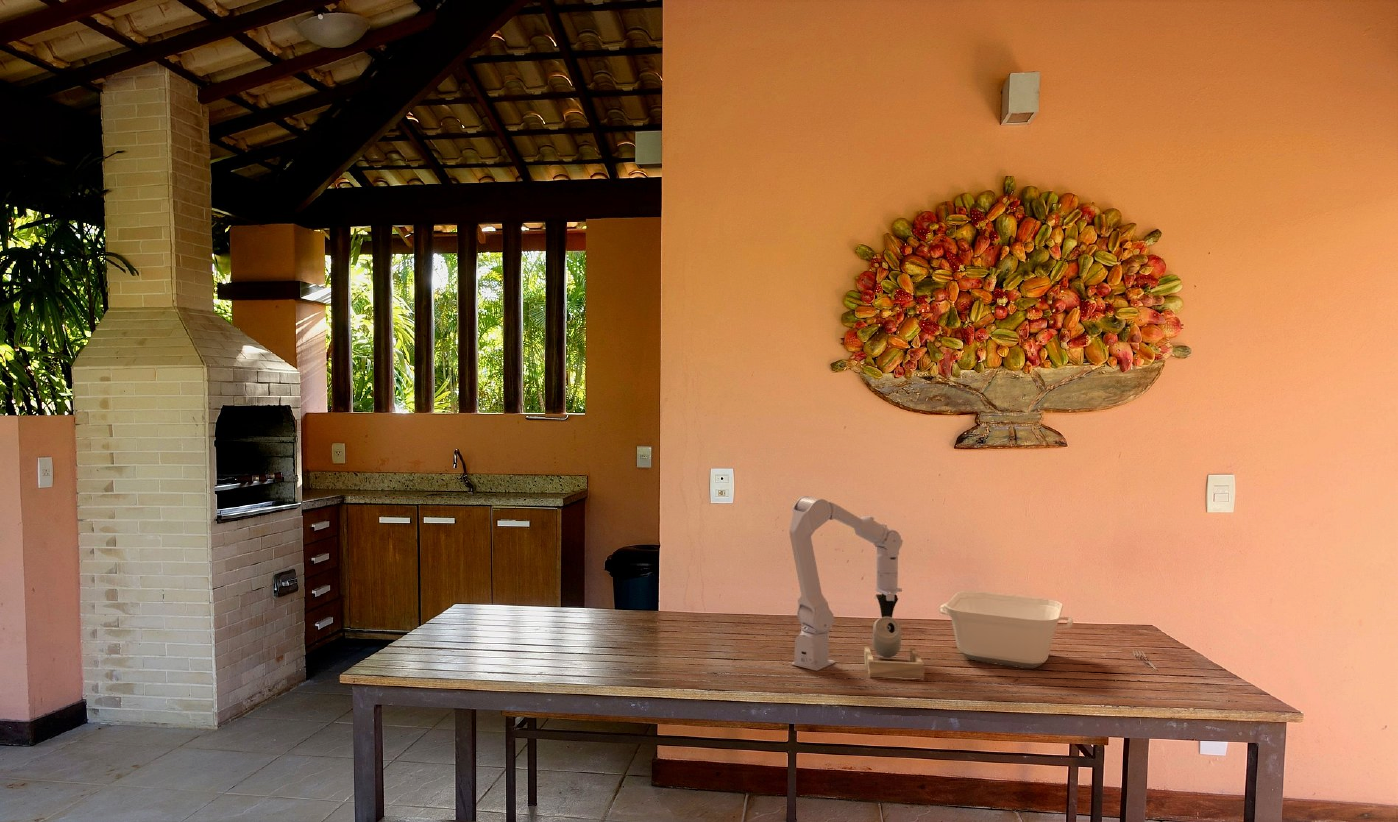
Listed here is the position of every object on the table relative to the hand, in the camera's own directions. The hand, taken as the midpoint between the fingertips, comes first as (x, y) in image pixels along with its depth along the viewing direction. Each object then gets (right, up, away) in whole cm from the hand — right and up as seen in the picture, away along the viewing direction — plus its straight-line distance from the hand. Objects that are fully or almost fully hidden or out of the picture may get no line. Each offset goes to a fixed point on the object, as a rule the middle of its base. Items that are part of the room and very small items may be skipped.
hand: (886, 621), depth 216 cm
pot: (+32, -10, -1) cm, 34 cm away
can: (0, -7, -1) cm, 7 cm away
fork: (+69, -11, -9) cm, 70 cm away
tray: (-2, -9, -13) cm, 16 cm away
